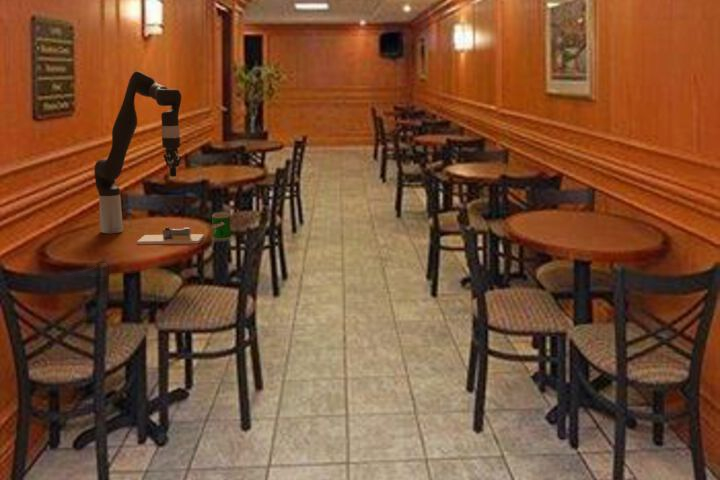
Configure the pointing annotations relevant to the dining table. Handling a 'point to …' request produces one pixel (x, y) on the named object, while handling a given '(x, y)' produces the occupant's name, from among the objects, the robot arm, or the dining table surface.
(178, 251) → the dining table surface
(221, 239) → the soda can
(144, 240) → the lock board
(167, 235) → the latch bar
